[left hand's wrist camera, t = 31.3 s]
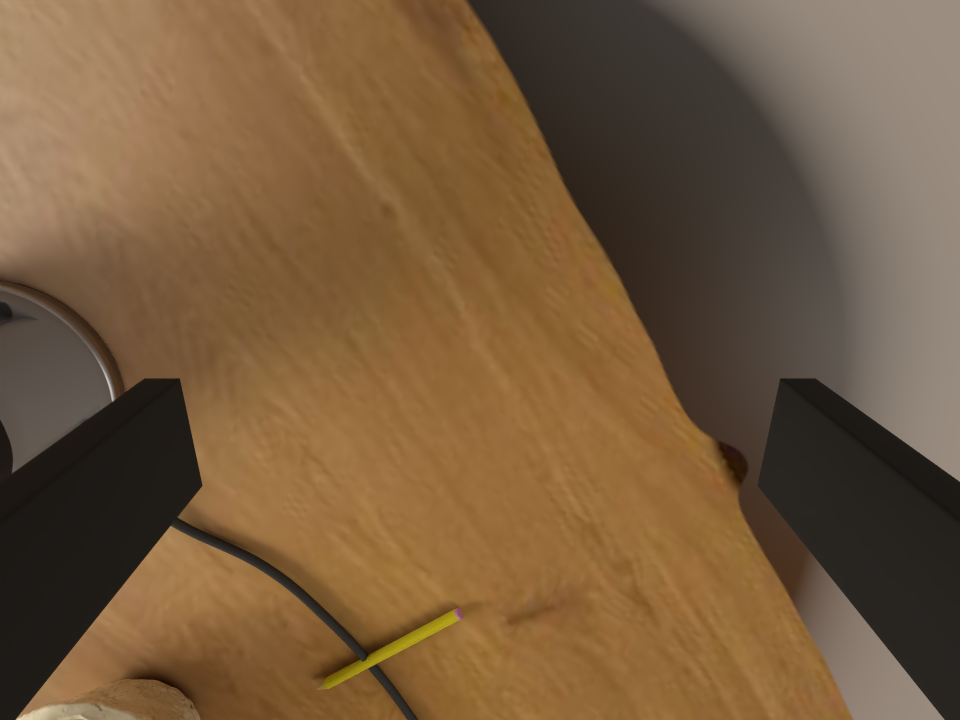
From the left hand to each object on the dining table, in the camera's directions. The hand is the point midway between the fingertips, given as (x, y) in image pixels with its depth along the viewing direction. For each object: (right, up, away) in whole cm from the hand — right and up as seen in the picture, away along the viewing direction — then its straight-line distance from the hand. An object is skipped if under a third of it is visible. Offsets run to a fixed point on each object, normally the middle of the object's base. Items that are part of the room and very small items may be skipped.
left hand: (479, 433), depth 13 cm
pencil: (-9, -25, +39) cm, 47 cm away
